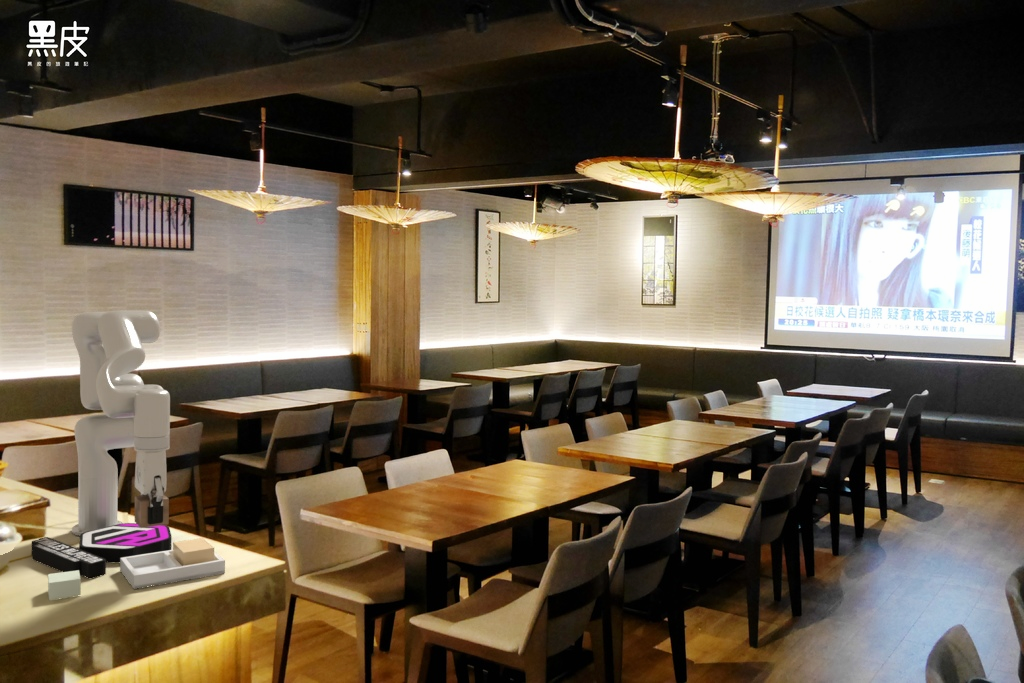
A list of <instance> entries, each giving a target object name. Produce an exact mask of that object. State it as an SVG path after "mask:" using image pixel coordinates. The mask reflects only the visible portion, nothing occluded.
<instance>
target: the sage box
mask: <svg viewBox="0 0 1024 683" xmlns="http://www.w3.org/2000/svg"><path fill="white" fill-rule="evenodd" d="M81 580H82V579H81V576H80V573H79V570H77V571H69V572H61V571H60V572H54V573H48V574H47V594H48V601H54V600H53V599H56V600H60V599H59V598H63V599H68V598H67V597H70V598H74V597H73V596H77V597H79V596H78V595H81V593H82V592H81V589H82V588H81ZM81 596H82V595H81Z"/></svg>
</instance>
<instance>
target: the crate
mask: <svg viewBox="0 0 1024 683" xmlns="http://www.w3.org/2000/svg"><path fill="white" fill-rule="evenodd" d="M119 566H120V567H119V571H121V572H122V573H121V572H120V573H121V574H122V576H123V575H124V576H125V577H126V578H125V577H124V578H125V579H127V580H128V581H129V582H128V581H127V580H126V581H127V582H128V583H129V585H130V584H131V585H132V586H131V585H130V586H131V587H132V589H133V588H134V589H136V590H138V589H137V588H141V589H143V588H142V587H147V586H151V585H152V587H154V586H153V585H158V586H160V585H159V584H164V585H166V584H165V583H169V584H172V583H171V582H175V583H177V582H176V581H180V582H183V581H182V580H186V581H190V580H189V579H191V580H196V579H195V578H197V579H200V577H203V578H206V577H205V576H208V577H212V575H214V576H217V575H216V574H219V575H223V574H222V573H225V574H226V559H224V558H223V557H222V556H220V554H219V553H217V552H216V551H215V547H214V546H213V545H212V544H210V543H209V542H208V541H207V540H206V539H205V538H203V537H201V538H191V539H188V540H187V539H186V540H180V541H173V542H172V549H171V550H167V551H161V552H155V553H148V554H142V555H135V556H129V557H123V558H120V563H119ZM147 588H148V587H147ZM134 589H133V590H134Z"/></svg>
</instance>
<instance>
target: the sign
mask: <svg viewBox="0 0 1024 683" xmlns="http://www.w3.org/2000/svg"><path fill="white" fill-rule="evenodd" d="M122 523H123V524H117V525H113V526H109V527H104V528H100V529H96V530H91V531H87V532H84V533H82V534H81V535H80V536H79V547H76V546H72V545H69V544H67V543H64V542H62V541H59V540H57V539H54V538H52V537H48V536H45V537H40V538H38V539H35V540H31V558H32V559H33V561H35V562H37V561H38V562H37V563H39V562H41V563H40V564H42V563H43V564H42V565H44V564H45V566H47V565H48V567H49V566H50V568H52V567H53V568H52V569H54V568H55V569H54V570H56V569H58V570H57V571H59V570H60V571H59V572H61V571H63V572H69V571H77V570H79V573H80V575H83V576H82V577H84V576H86V577H88V578H87V579H89V578H92V579H94V578H93V577H95V578H98V577H97V576H99V577H101V576H100V575H102V576H104V574H105V575H106V574H107V566H106V565H107V562H120V558H123V557H129V556H135V555H142V554H148V553H155V552H161V551H167V550H172V533H171V529H170V527H169V526H168V525H167V524H166V525H159V526H152V527H144V528H140V527H139V525H138V524H137V523H136V522H134V523H133V522H122ZM32 559H31V560H32ZM86 577H85V578H86Z"/></svg>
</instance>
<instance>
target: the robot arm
mask: <svg viewBox="0 0 1024 683" xmlns="http://www.w3.org/2000/svg"><path fill="white" fill-rule="evenodd" d="M160 334H161V324H160V321H159V318H158V317H157V315H156V313H154V312H152V311H150V310H134V309H133V310H131V309H130V310H128V309H127V310H125V309H124V310H121V309H120V310H111V311H110V310H109V311H87V312H81V313H78V314H77V315H76V316H75V317H74V318H73V319H72V323H71V335H72V336H71V337H72V340H73V343H74V345H75V347H76V350H77V353H78V357H79V385H80V387H79V390H80V391H79V392H80V394H79V395H80V401H81V404H82V407H84V408H85V409H87V410H93V411H97V410H99V411H100V410H101V411H102V412H103V414H92V415H87V416H84V417H81V418H80V419H78V420H77V421H76V423H75V425H74V438H75V445H76V451H77V458H78V459H77V465H78V466H77V468H78V472H77V473H78V474H77V475H78V477H77V478H78V487H77V488H78V490H77V492H78V494H77V496H78V499H77V500H78V501H77V502H78V505H77V506H78V507H77V508H78V515H77V516H78V518H77V519H78V520H77V521H78V522H77V524H75V525H73V526H72V528H71V533H72V534H73V535H75V536H78V535H79V536H78V537H80V535H81V534H82V533H84V532H87V531H91V530H96V529H100V528H104V527H109V526H113V525H117V524H123V523H124V522H123V521H120V520H118V491H119V489H118V486H119V485H118V481H119V480H118V478H119V477H118V473H119V472H118V464H117V461H116V460H115V458H113V457H112V456H111V455H110V454H109V453H108V451H109V450H114V449H115V450H116V449H124V448H133V450H134V451H135V452H136V454H135V455H136V456H135V466H134V467H135V469H134V488H135V490H137V491H139V492H140V495H148V496H149V507H148V524H157V523H162V522H163V494H164V493H166V491H167V481H168V480H167V453H166V451H167V450H170V449H171V448H170V447H171V446H170V444H171V439H170V438H171V436H170V434H171V430H170V428H171V427H170V426H171V395H170V392H169V391H168V390H167V389H164V388H163V387H162V386H161V385H159V384H145V383H144V381H143V379H142V377H141V376H140V375H139V374H136V373H131V372H133V371H135V370H137V369H139V367H141V366H142V365H143V364H144V362H145V359H146V352H145V350H144V347H143V344H153V343H155V342H157V340H158V339H159V338H160ZM152 496H156V497H154V498H153V500H152Z"/></svg>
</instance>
